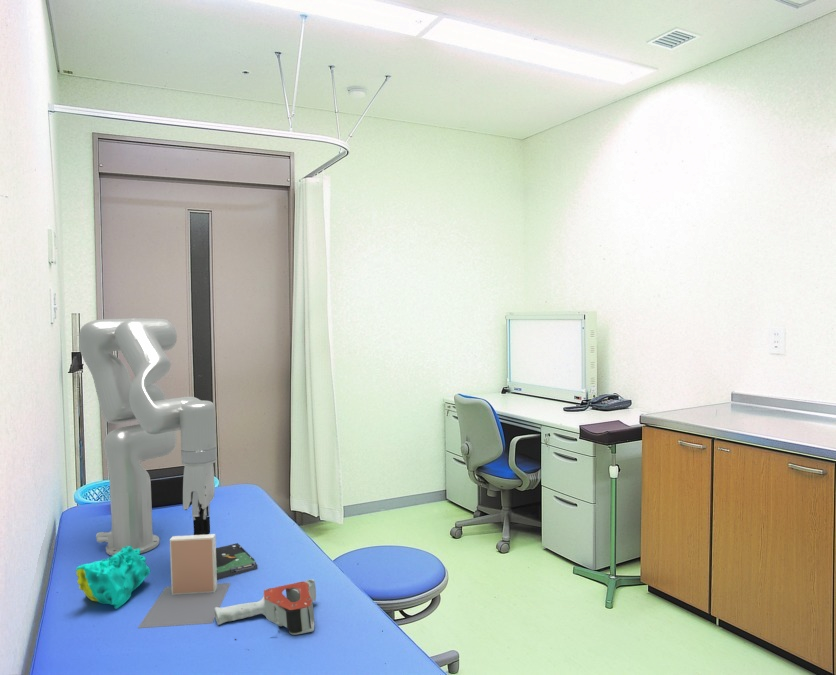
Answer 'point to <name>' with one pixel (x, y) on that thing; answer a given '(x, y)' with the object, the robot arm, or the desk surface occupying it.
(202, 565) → the tile
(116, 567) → the teal sponge
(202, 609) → the mat
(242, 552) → the disk drive
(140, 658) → the desk surface
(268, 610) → the tape dispenser
